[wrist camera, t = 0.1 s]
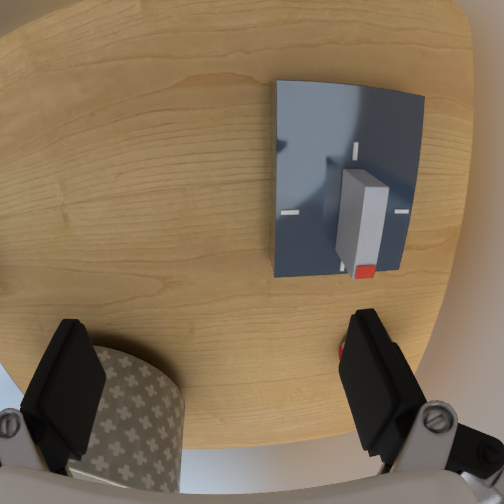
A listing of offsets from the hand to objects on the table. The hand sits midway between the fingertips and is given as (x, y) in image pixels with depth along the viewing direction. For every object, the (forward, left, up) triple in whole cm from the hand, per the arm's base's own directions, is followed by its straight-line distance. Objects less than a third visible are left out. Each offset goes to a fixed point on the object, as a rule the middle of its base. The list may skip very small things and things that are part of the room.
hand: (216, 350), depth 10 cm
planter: (+25, -16, -19) cm, 35 cm away
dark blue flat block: (-1, +10, -19) cm, 21 cm away
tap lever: (+1, +10, -15) cm, 18 cm away
